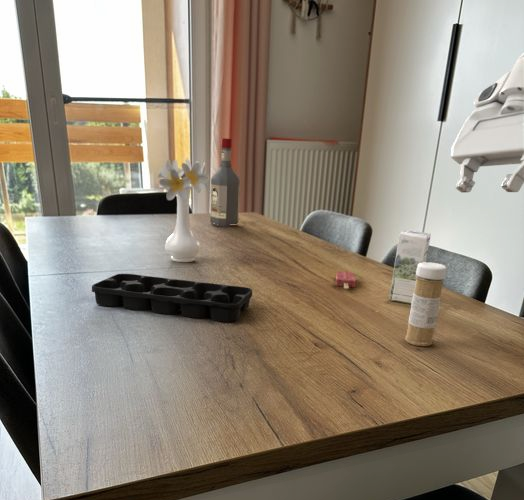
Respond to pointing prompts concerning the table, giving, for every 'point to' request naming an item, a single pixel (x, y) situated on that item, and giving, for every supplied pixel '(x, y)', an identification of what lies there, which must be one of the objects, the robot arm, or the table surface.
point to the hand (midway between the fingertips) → (484, 190)
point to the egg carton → (173, 296)
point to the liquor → (225, 190)
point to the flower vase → (183, 206)
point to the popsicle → (345, 279)
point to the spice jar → (425, 303)
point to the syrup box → (408, 264)
